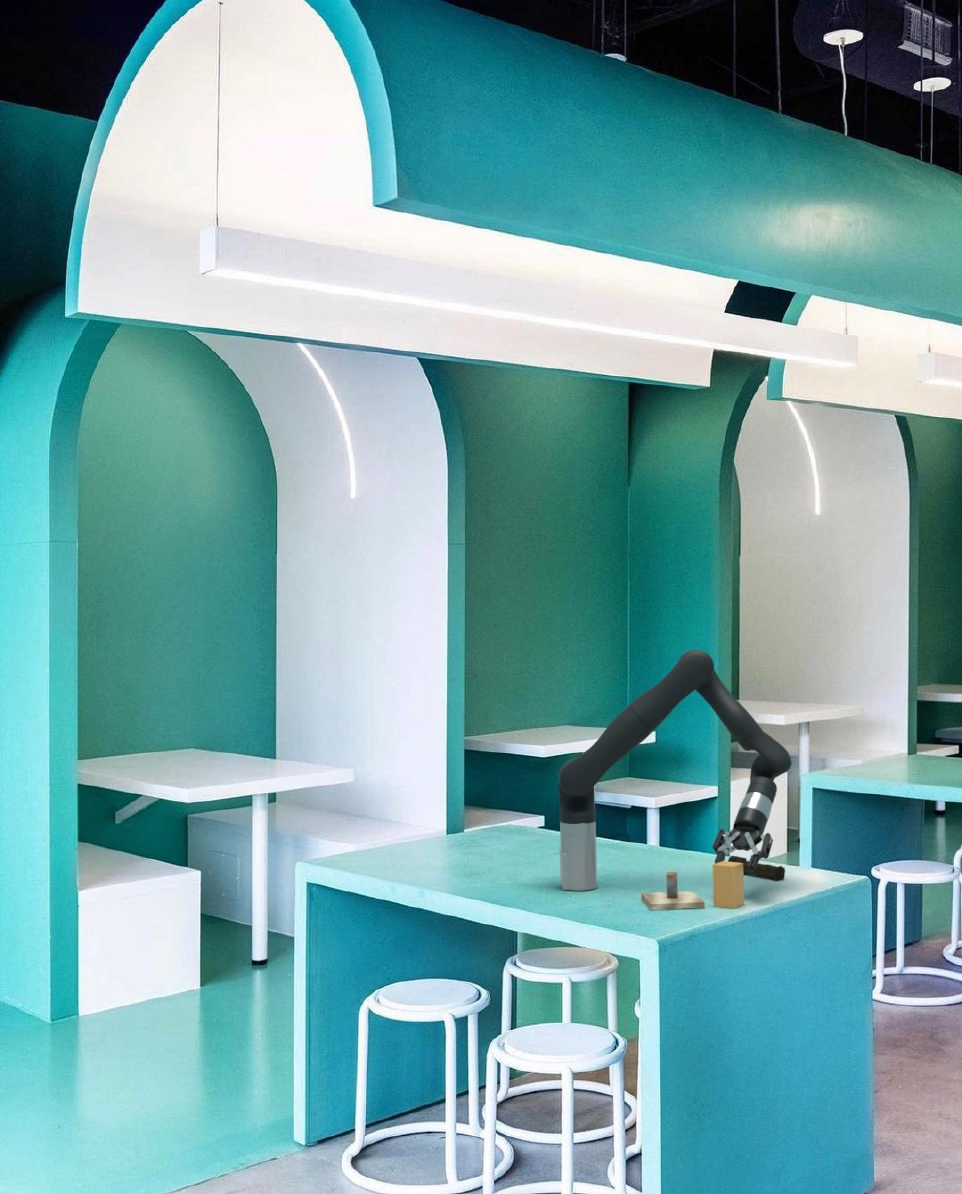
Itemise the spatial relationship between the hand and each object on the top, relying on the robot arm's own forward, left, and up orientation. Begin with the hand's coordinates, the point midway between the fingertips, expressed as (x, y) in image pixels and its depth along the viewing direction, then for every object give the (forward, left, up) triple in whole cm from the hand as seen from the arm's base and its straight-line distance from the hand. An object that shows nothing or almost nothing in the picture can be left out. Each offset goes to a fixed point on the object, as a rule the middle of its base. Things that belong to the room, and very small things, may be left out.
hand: (734, 868), depth 337 cm
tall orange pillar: (-2, -2, -8) cm, 9 cm away
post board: (-15, +2, -8) cm, 17 cm away
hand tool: (+13, +32, -9) cm, 36 cm away
